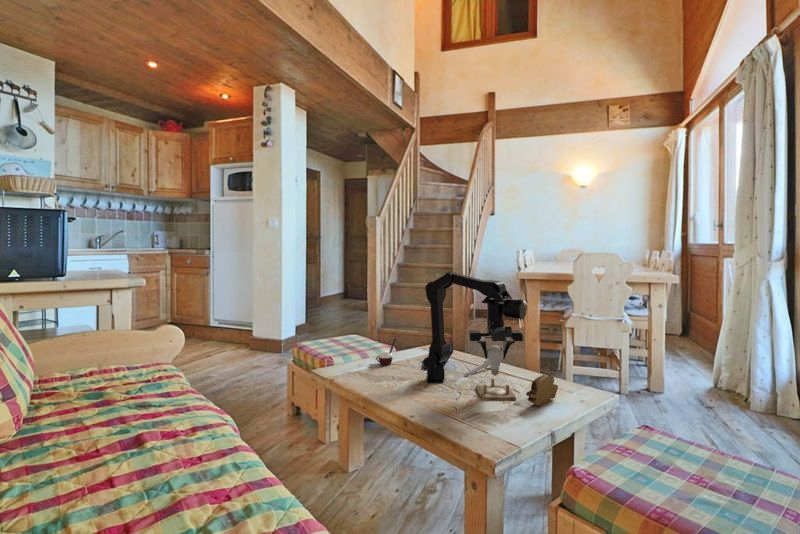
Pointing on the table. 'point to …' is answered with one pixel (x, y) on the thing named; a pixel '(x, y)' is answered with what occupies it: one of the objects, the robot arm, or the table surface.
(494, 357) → the lightbulb
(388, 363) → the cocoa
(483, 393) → the pin holder
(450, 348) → the handheld game console
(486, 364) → the caliper
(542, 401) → the wooden carving
